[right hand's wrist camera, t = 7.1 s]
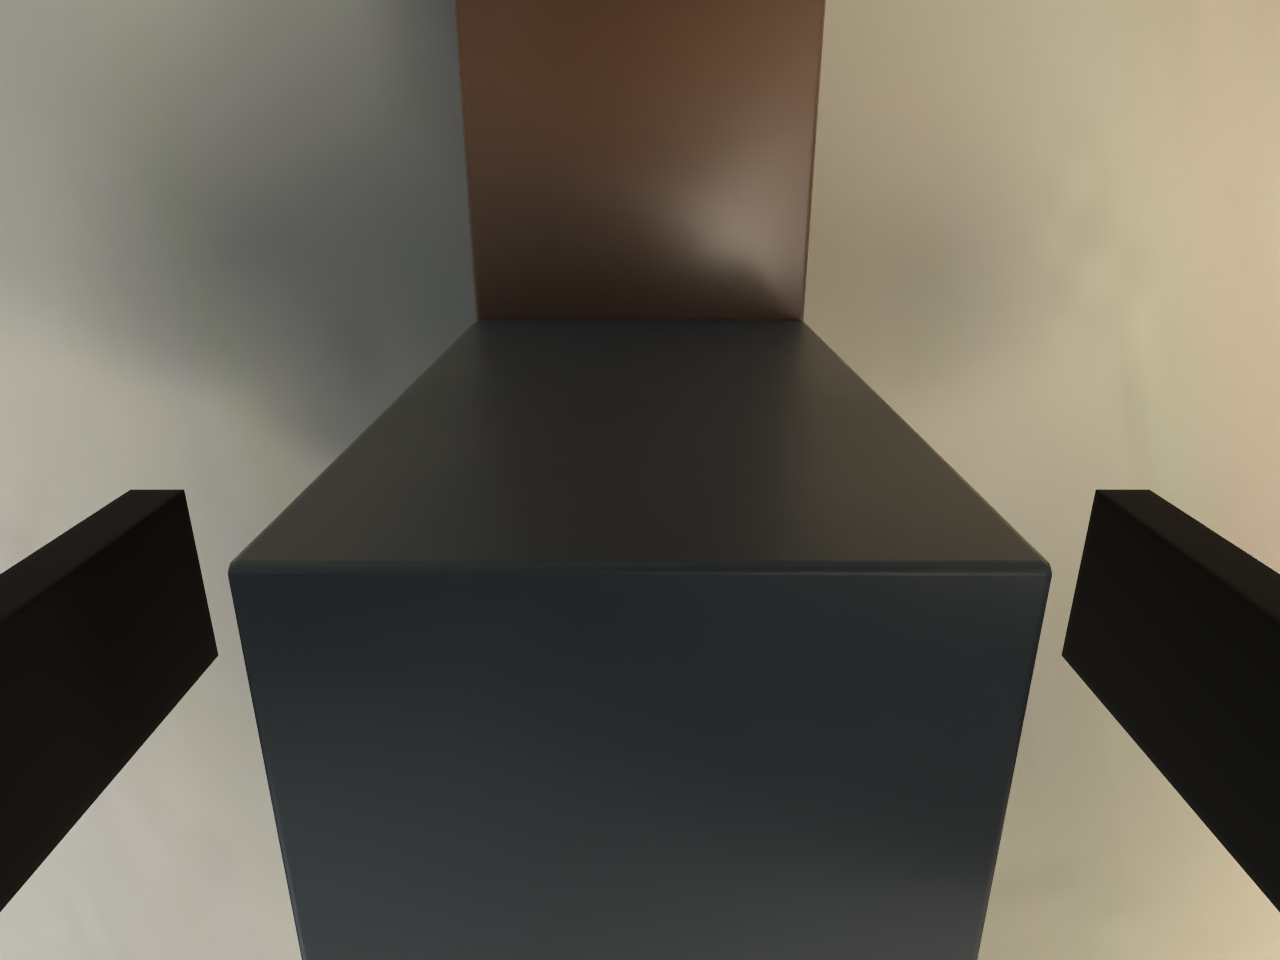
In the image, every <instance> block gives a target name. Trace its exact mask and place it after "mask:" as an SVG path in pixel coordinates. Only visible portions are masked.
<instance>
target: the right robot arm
mask: <svg viewBox="0 0 1280 960" xmlns="http://www.w3.org/2000/svg"><path fill="white" fill-rule="evenodd" d="M217 656H218V652H217V647H216V642H215V637H214V632H213V627H212V623H211V618H210V613H209V608H208V603H207V598H206V594H205V589H204V584H203V579H202V574H201V569H200V565H199V560H198V555H197V550H196V545H195V540H194V536H193V531H192V526H191V521H190V516H189V511H188V507H187V502H186V497H185V492H184V490H129V491H128V492H126V493H125V494H123V495H122V496H120V497H119V498H117V499H116V500H114V501H113V502H111V503H109V504H108V505H106V506H105V507H103V508H102V509H100V510H99V511H97V512H96V513H94V514H93V515H91V516H89V517H88V518H86V519H85V520H83V521H82V522H80V523H79V524H77V525H76V526H74V527H73V528H71V529H69V530H68V531H66V532H65V533H63V534H62V535H60V536H59V537H57V538H56V539H54V540H53V541H51V542H49V543H48V544H46V545H45V546H43V547H42V548H40V549H39V550H37V551H36V552H34V553H32V554H31V555H29V556H28V557H26V558H25V559H23V560H22V561H20V562H19V563H17V564H16V565H14V566H12V567H11V568H9V569H8V570H6V571H5V572H3V573H2V574H0V912H1V911H2V909H3V908H4V907H5V906H6V905H7V903H8V902H9V901H10V900H11V899H12V898H13V896H14V895H15V894H16V893H17V892H18V891H19V889H20V888H21V887H22V886H23V885H24V883H25V882H26V881H27V880H28V879H29V878H30V876H31V875H32V874H33V873H34V872H35V870H36V869H37V868H38V867H39V866H40V865H41V863H42V862H43V861H44V860H45V859H46V858H47V856H48V855H49V854H50V853H51V852H52V850H53V849H54V848H55V847H56V846H57V845H58V843H59V842H60V841H61V840H62V839H63V838H64V836H65V835H66V834H67V833H68V832H69V830H70V829H71V828H72V827H73V826H74V825H75V823H76V822H77V821H78V820H79V819H80V818H81V816H82V815H83V814H84V813H85V812H86V810H87V809H88V808H89V807H90V806H91V805H92V803H93V802H94V801H95V800H96V799H97V798H98V796H99V795H100V794H101V793H102V792H103V790H104V789H105V788H106V787H107V786H108V785H109V783H110V782H111V781H112V780H113V779H114V777H115V776H116V775H117V774H118V773H119V772H120V770H121V769H122V768H123V767H124V766H125V765H126V763H127V762H128V761H129V760H130V759H131V757H132V756H133V755H134V754H135V753H136V752H137V750H138V749H139V748H140V747H141V746H142V745H143V743H144V742H145V741H146V740H147V739H148V737H149V736H150V735H151V734H152V733H153V732H154V730H155V729H156V728H157V727H158V726H159V725H160V723H161V722H162V721H163V720H164V719H165V717H166V716H167V715H168V714H169V713H170V712H171V710H172V709H173V708H174V707H175V706H176V705H177V703H178V702H179V701H180V700H181V699H182V697H183V696H184V695H185V694H186V693H187V692H188V690H189V689H190V688H191V687H192V686H193V684H194V683H195V682H196V681H197V680H198V679H199V677H200V676H201V675H202V674H203V673H204V672H205V670H206V669H207V668H208V667H209V666H210V664H211V663H212V662H213V661H214V660H215V659H216V657H217ZM1062 656H1063V657H1064V659H1065V660H1066V661H1067V662H1068V663H1069V665H1070V666H1071V667H1072V668H1073V669H1074V670H1075V672H1076V673H1077V674H1078V675H1079V676H1080V677H1081V679H1082V680H1083V681H1084V682H1085V683H1086V685H1087V686H1088V687H1089V688H1090V689H1091V690H1092V692H1093V693H1094V694H1095V695H1096V696H1097V697H1098V699H1099V700H1100V701H1101V702H1102V703H1103V705H1104V706H1105V707H1106V708H1107V709H1108V710H1109V712H1110V713H1111V714H1112V715H1113V716H1114V717H1115V719H1116V720H1117V721H1118V722H1119V723H1120V725H1121V726H1122V727H1123V728H1124V729H1125V730H1126V732H1127V733H1128V734H1129V735H1130V736H1131V738H1132V739H1133V740H1134V741H1135V742H1136V743H1137V745H1138V746H1139V747H1140V748H1141V749H1142V750H1143V752H1144V753H1145V754H1146V755H1147V756H1148V758H1149V759H1150V760H1151V761H1152V762H1153V763H1154V765H1155V766H1156V767H1157V768H1158V769H1159V770H1160V772H1161V773H1162V774H1163V775H1164V776H1165V778H1166V779H1167V780H1168V781H1169V782H1170V783H1171V785H1172V786H1173V787H1174V788H1175V789H1176V790H1177V792H1178V793H1179V794H1180V795H1181V796H1182V798H1183V799H1184V800H1185V801H1186V802H1187V803H1188V805H1189V806H1190V807H1191V808H1192V809H1193V810H1194V812H1195V813H1196V814H1197V815H1198V816H1199V818H1200V819H1201V820H1202V821H1203V822H1204V823H1205V825H1206V826H1207V827H1208V828H1209V829H1210V831H1211V832H1212V833H1213V834H1214V835H1215V836H1216V838H1217V839H1218V840H1219V841H1220V842H1221V843H1222V845H1223V846H1224V847H1225V848H1226V849H1227V851H1228V852H1229V853H1230V854H1231V855H1232V856H1233V858H1234V859H1235V860H1236V861H1237V862H1238V863H1239V865H1240V866H1241V867H1242V868H1243V869H1244V871H1245V872H1246V873H1247V874H1248V875H1249V876H1250V878H1251V879H1252V880H1253V881H1254V882H1255V883H1256V885H1257V886H1258V887H1259V888H1260V889H1261V891H1262V892H1263V893H1264V894H1265V895H1266V896H1267V898H1268V899H1269V900H1270V901H1271V902H1272V903H1273V905H1274V906H1275V907H1276V908H1277V909H1278V911H1279V912H1280V574H1278V573H1277V572H1275V571H1274V570H1272V569H1271V568H1269V567H1267V566H1266V565H1264V564H1263V563H1261V562H1260V561H1258V560H1257V559H1255V558H1254V557H1252V556H1251V555H1249V554H1247V553H1246V552H1244V551H1243V550H1241V549H1240V548H1238V547H1237V546H1235V545H1234V544H1232V543H1231V542H1229V541H1227V540H1226V539H1224V538H1223V537H1221V536H1220V535H1218V534H1217V533H1215V532H1214V531H1212V530H1211V529H1209V528H1207V527H1206V526H1204V525H1203V524H1201V523H1200V522H1198V521H1197V520H1195V519H1194V518H1192V517H1191V516H1189V515H1187V514H1186V513H1184V512H1183V511H1181V510H1180V509H1178V508H1177V507H1175V506H1174V505H1172V504H1170V503H1169V502H1167V501H1166V500H1164V499H1163V498H1161V497H1160V496H1158V495H1157V494H1155V493H1154V492H1152V491H1150V490H1096V492H1095V497H1094V502H1093V506H1092V511H1091V516H1090V521H1089V526H1088V531H1087V535H1086V540H1085V545H1084V550H1083V555H1082V560H1081V564H1080V569H1079V574H1078V579H1077V584H1076V589H1075V593H1074V598H1073V603H1072V608H1071V613H1070V618H1069V622H1068V627H1067V632H1066V637H1065V642H1064V647H1063V651H1062Z"/></svg>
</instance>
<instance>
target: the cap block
mask: <svg viewBox="0 0 1280 960" xmlns="http://www.w3.org/2000/svg"><path fill="white" fill-rule="evenodd" d="M228 577H229V582H230V587H231V592H232V598H233V603H234V608H235V613H236V619H237V624H238V629H239V634H240V639H241V645H242V650H243V655H244V660H245V665H246V671H247V676H248V681H249V686H250V691H251V697H252V702H253V707H254V712H255V717H256V723H257V728H258V733H259V738H260V743H261V749H262V754H263V759H264V764H265V769H266V775H267V780H268V785H269V790H270V795H271V801H272V806H273V811H274V816H275V821H276V827H277V832H278V837H279V842H280V847H281V853H282V858H283V863H284V868H285V873H286V879H287V884H288V889H289V894H290V899H291V905H292V910H293V915H294V920H295V925H296V931H297V936H298V941H299V946H300V951H301V957H302V960H977V958H978V952H979V947H980V942H981V937H982V932H983V927H984V922H985V916H986V911H987V906H988V901H989V896H990V891H991V885H992V880H993V875H994V870H995V865H996V860H997V855H998V849H999V844H1000V839H1001V834H1002V829H1003V824H1004V819H1005V813H1006V808H1007V803H1008V798H1009V793H1010V788H1011V783H1012V777H1013V772H1014V767H1015V762H1016V757H1017V752H1018V746H1019V741H1020V736H1021V731H1022V726H1023V721H1024V716H1025V710H1026V705H1027V700H1028V695H1029V690H1030V685H1031V680H1032V674H1033V669H1034V664H1035V659H1036V654H1037V649H1038V643H1039V638H1040V633H1041V628H1042V623H1043V618H1044V613H1045V607H1046V602H1047V597H1048V592H1049V587H1050V582H1051V577H1052V572H1051V567H1050V564H1049V563H1048V562H1047V561H1046V560H1045V559H1044V558H1043V557H1042V556H1041V555H1040V554H1039V553H1038V552H1037V551H1036V550H1035V549H1034V548H1033V547H1032V546H1031V545H1030V544H1029V543H1028V542H1027V541H1026V540H1025V539H1024V538H1023V537H1022V536H1021V535H1020V534H1019V533H1018V532H1017V531H1016V530H1015V529H1014V528H1013V527H1012V526H1011V525H1010V524H1009V523H1008V522H1007V521H1006V520H1005V519H1004V518H1003V517H1002V516H1001V515H1000V514H999V513H998V512H997V511H996V510H995V509H994V508H992V507H991V506H990V505H989V504H988V503H987V502H986V501H985V500H984V499H983V498H982V497H981V496H980V495H979V494H978V493H977V492H976V491H975V490H974V489H973V488H972V487H971V486H970V485H969V484H968V483H967V482H966V481H965V480H964V479H963V478H962V477H961V476H960V475H959V474H958V473H957V472H956V471H955V470H954V469H953V468H952V467H951V466H950V465H949V464H948V463H947V462H946V461H945V460H944V459H943V458H942V457H941V456H940V455H939V454H938V453H937V452H935V451H934V450H933V449H932V448H931V447H930V446H929V445H928V444H927V443H926V442H925V441H924V440H923V439H922V438H921V437H920V436H919V435H918V434H917V433H916V432H915V431H914V430H913V429H912V428H911V427H910V426H909V425H908V424H907V423H906V422H905V421H904V420H903V419H902V418H901V417H900V416H899V415H898V414H897V413H896V412H895V411H894V410H893V409H892V408H891V407H890V406H889V405H888V404H887V403H886V402H885V401H884V400H883V399H882V398H881V397H880V396H878V395H877V394H876V393H875V392H874V391H873V390H872V389H871V388H870V387H869V386H868V385H867V384H866V383H865V382H864V381H863V380H862V379H861V378H860V377H859V376H858V375H857V374H856V373H855V372H854V371H853V370H852V369H851V368H850V367H849V366H848V365H847V364H846V363H845V362H844V361H843V360H842V359H841V358H840V357H839V356H838V355H837V354H836V353H835V352H834V351H833V350H832V349H831V348H830V347H829V346H828V345H827V344H826V343H825V342H824V341H823V340H822V339H820V338H819V337H818V336H817V335H816V334H815V333H814V332H813V331H812V330H811V329H810V328H809V327H808V326H807V325H806V324H805V323H804V322H803V321H800V320H478V321H476V322H475V323H474V324H473V325H472V326H471V327H470V328H469V329H468V330H467V331H466V332H465V333H464V334H463V335H462V336H461V337H460V338H459V339H458V340H457V341H456V342H455V343H454V344H453V345H452V346H451V347H450V348H449V349H447V350H446V351H445V352H444V353H443V354H442V355H441V356H440V357H439V358H438V359H437V360H436V361H435V362H434V363H433V364H432V365H431V366H430V367H429V368H428V369H427V370H426V371H425V372H424V373H423V374H422V375H421V376H420V377H419V378H418V379H417V380H416V381H415V382H414V383H413V384H412V385H411V386H410V387H409V388H408V389H407V390H406V391H405V392H404V393H403V394H402V395H401V396H400V397H399V398H398V399H397V400H396V401H395V402H394V403H393V404H392V405H391V406H390V407H389V408H388V409H386V410H385V411H384V412H383V413H382V414H381V415H380V416H379V417H378V418H377V419H376V420H375V421H374V422H373V423H372V424H371V425H370V426H369V427H368V428H367V429H366V430H365V431H364V432H363V433H362V434H361V435H360V436H359V437H358V438H357V439H356V440H355V441H354V442H353V443H352V444H351V445H350V446H349V447H348V448H347V449H346V450H345V451H344V452H343V453H342V454H341V455H340V456H339V457H338V458H337V459H336V460H335V461H334V462H333V463H332V464H331V465H330V466H329V467H328V468H327V469H325V470H324V471H323V472H322V473H321V474H320V475H319V476H318V477H317V478H316V479H315V480H314V481H313V482H312V483H311V484H310V485H309V486H308V487H307V488H306V489H305V490H304V491H303V492H302V493H301V494H300V495H299V496H298V497H297V498H296V499H295V500H294V501H293V502H292V503H291V504H290V505H289V506H288V507H287V508H286V509H285V510H284V511H283V512H282V513H281V514H280V515H279V516H278V517H277V518H276V519H275V520H274V521H273V522H272V523H271V524H270V525H269V526H268V527H267V528H266V529H264V530H263V531H262V532H261V533H260V534H259V535H258V536H257V537H256V538H255V539H254V540H253V541H252V542H251V543H250V544H249V545H248V546H247V547H246V548H245V549H244V550H243V551H242V552H241V553H240V554H239V555H238V556H237V557H236V558H235V559H234V560H233V561H232V562H231V563H230V566H229V570H228Z"/></svg>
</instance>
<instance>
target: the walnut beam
mask: <svg viewBox="0 0 1280 960" xmlns="http://www.w3.org/2000/svg"><path fill="white" fill-rule="evenodd" d="M455 12H456V27H457V42H458V57H459V71H460V86H461V101H462V116H463V130H464V145H465V160H466V175H467V190H468V204H469V219H470V234H471V249H472V263H473V278H474V293H475V308H476V321H478V320H800V321H803V316H804V302H805V288H806V273H807V259H808V244H809V230H810V215H811V201H812V187H813V172H814V158H815V143H816V129H817V114H818V100H819V86H820V71H821V57H822V42H823V28H824V13H825V0H455Z"/></svg>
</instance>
